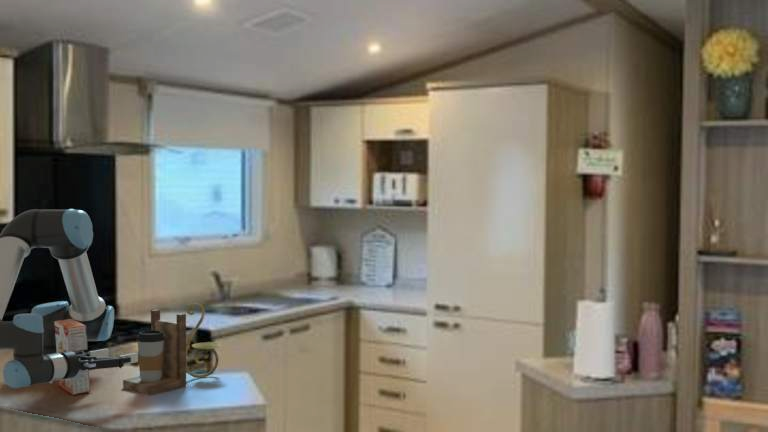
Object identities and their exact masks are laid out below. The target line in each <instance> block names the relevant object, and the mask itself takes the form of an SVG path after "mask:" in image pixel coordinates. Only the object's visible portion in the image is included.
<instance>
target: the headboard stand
mask: <svg viewBox="0 0 768 432" xmlns="http://www.w3.org/2000/svg"><path fill="white" fill-rule="evenodd" d="M150 330H157V331H162V332H163V335H164V338H165V340H164V347H163V350H164V352H163V366H162V377H161V380H160V381H157V382H142V381H141V379H140V375H139V376H134V377H130V378H126V379H122V389H126V388H127V389H126V390H130V389H131V391H134V390H135V391H134V392H138V391H139V393H142V392H143V393H142V394H146V393H147V394H146V395H150V396H154V395H158V394H162V393H165V392H170V391H174V390H177V389H181V388H185V387H187V372H186V344H187V314H186V313H178V314H176V321H172V320H168V319H167V320H166V319H161V310H160V309H151V310H150Z"/></svg>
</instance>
